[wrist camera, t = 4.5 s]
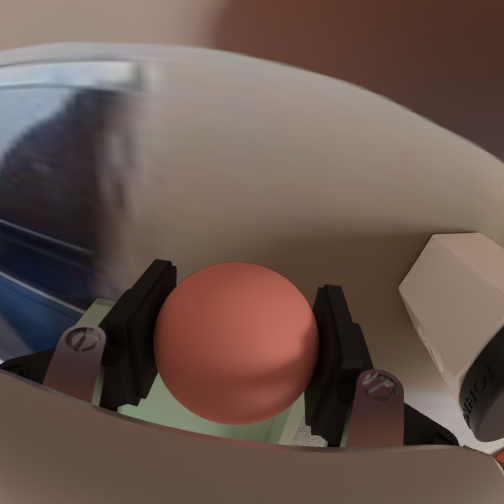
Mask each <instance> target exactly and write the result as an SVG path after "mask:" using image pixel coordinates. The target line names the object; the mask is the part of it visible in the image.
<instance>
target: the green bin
mask: <svg viewBox="0 0 504 504" xmlns="http://www.w3.org/2000/svg"><path fill="white" fill-rule="evenodd" d="M115 304H116V301H111V300H106V299H101V298H97V299H96V300H95V301H94V303H93V304H92V305H91V306H90V307H89V309H88V310H87V311H86V312H85V314H84V315H83V316H82V317H81V319H80V320H79V321H78V323H77V324H76V325H80V324H91V325H95V326H98V325H99V324H100V322H101V321H102V320H103V318H104V317H105V316H106V315H107V313H108V312H109V311H110V310H111V308H112V307H113V306H114V305H115ZM121 407H122V412H121V414H124V415H127V416H131V417H134V418H138V419H142V420H145V421H149V422H153V423H157V424H161V425H165V426H169V427H173V428H178V429H182V430H187V431H192V432H197V433H202V434H207V435H213V436H218V437H224V438H231V439H238V440H245V441H253V442H261V443H271V444H281V445H291V444H292V442H293V440H294V437H295V435H296V433H297V430H298V428H299V426H300V423H301V421H302V418H303V416H304V414H305V402H304V392H303V393H302V395H301V396H300V397H299V398H298V399H297V400H296V401H295V402H294V403H293V404H292V405H291V406H290V407H288V408H287V409H286V410H284V411H283V412H281V413H279V414H278V415H276V416H274V417H272V418H270V419H267V420H264V421H261V422H258V423H253V424H248V425H227V424H220V423H216V422H212V421H209V420H206V419H204V418H201V417H199V416H197V415H196V414H194V413H192V412H191V411H189V410H188V409H186V408H185V407H184V406H183V405H181V404H180V403H179V402H178V401H177V400H176V399H175V398H174V397H173V396H172V394H171V393H170V392H169V390H168V389H167V388H166V386H165V385H164V383H163V381H162V379H161V377H160V375H159V372H158V374H157V376H156V378H155V381H154V383H153V385H152V387H151V390H150V392H149V394H148V396H147V398H146V399H141V401H140V403H139V405H138V407H136V406H133V405H129V404H126V405H123V406H121Z"/></svg>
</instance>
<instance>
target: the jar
mask: <svg viewBox="0 0 504 504" xmlns="http://www.w3.org/2000/svg"><path fill="white" fill-rule="evenodd" d="M398 290H399V292H400V295H401V297H402V299H403V301H404V304H405V306H406V309H407V311H408V313H409V316H410V318H411V321H412V323H413V326H414V328H415V330H416V332H417V333H418V335H419V337H420V338H421V340H422V342H423V343H424V345H425V347H426V348H427V350H428V352H429V354H430V356H431V358H432V360H433V362H434V364H435V366H436V367H437V369H438V371H439V372H440V373H441V375H442V377H443V379H444V381H445V382H446V384H447V386H448V388H449V390H450V392H451V394H452V396H453V398H454V399H455V401H456V403H457V405H458V407H459V409H460V411H461V413H462V414H463V417H464V419H465V421H466V423H467V425H468V427H469V429H471V430H472V432H473V434H474V436H475V438H476V439H477V440H479V441H481V442H491V441H495V440H499V439H501V438H504V249H503V248H502V247H500V246H499V245H497V244H496V243H495V242H493V241H492V240H490V239H489V238H487V237H486V236H484V235H483V234H481V233H458V234H434V235H433V236H432V237H431V238H430V240H429V242H428V243H427V245H426V246H425V248H424V250H423V251H422V253H421V254H420V256H419V257H418V259H417V260H416V262H415V263H414V265H413V266H412V268H411V269H410V271H409V272H408V274H407V275H406V277H405V278H404V280H403V281H402V282H401V284H400V285H399V287H398Z"/></svg>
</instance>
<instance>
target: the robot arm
mask: <svg viewBox="0 0 504 504" xmlns="http://www.w3.org/2000/svg"><path fill="white" fill-rule="evenodd" d="M176 278H177V269H176V266H172V262H171V261H165V260H159V259H155V260H154V262H153V263H152V264H151V265H150V266H149V268H148V269H147V270H146V271H145V272H144V273H143V275H142V276H141V277H140V278H139V280H138V281H137V282H136V283H135V284H134V286H133V287H132V288H131V289H128V290H126V291H125V293H124V294H123V295H122V296H121V297H120V299H119V300H118V301H117V302H116V304H115V305H114V306H113V307H112V308H111V310H110V311H109V312H108V313H107V315H106V316H105V317H104V318H103V320H102V321H101V322H100V324H99V325H98V326H95V325H91V324H80V325H75V326H73V327H71V328H69V329H67V330H66V331H65V332H64V333H63V334H62V336H61V338H60V340H59V342H58V345H57V347H56V348H54V349H50V350H46V351H42V352H38V353H34V354H30V355H26V356H22V357H18V358H14V359H10V360H7V361H5V362H3V363H2V364H0V504H504V462H501V461H499V460H497V459H494V458H493V457H491V456H490V455H489V454H486V453H484V452H482V451H479V450H476V449H472V448H470V447H468V446H466V445H464V446H463V447H461V446H459V442H458V440H457V438H456V437H455V435H454V434H453V433H452V432H450V431H449V430H448V429H446V428H444V427H443V426H441V425H439V424H438V423H436V422H435V421H433V420H431V419H430V418H428V417H427V416H425V415H423V414H422V413H420V412H419V411H417V410H415V409H414V408H412V407H411V406H409V405H408V404H406V403H404V389H403V385H402V384H401V382H400V381H399V380H398V379H397V378H396V377H395V376H394V375H392V374H391V373H389V372H386V371H383V370H378V369H374V367H373V364H372V361H371V358H370V355H369V352H368V348H367V345H366V342H365V339H364V336H363V333H362V330H361V327H360V325H359V324H357V323H353V322H352V318H351V315H350V312H349V309H348V306H347V303H346V300H345V297H344V294H343V291H342V288H341V286H336V285H328V284H325V285H324V288H320V287H319V288H318V291H317V295H316V299H315V303H314V307H313V311H312V312H313V314H314V316H315V320H316V323H317V327H318V332H319V355H318V362H317V366H316V369H315V372H314V374H313V377H312V379H311V381H310V383H309V384H308V386H307V387H306V389H305V390H304V402H305V423H306V426H311V435H318V436H321V437H322V438H324V439H325V440H326V442H325V445H324V447H310V446H293V445H281V444H271V443H261V442H253V441H245V440H238V439H231V438H224V437H218V436H213V435H207V434H202V433H197V432H192V431H187V430H182V429H178V428H173V427H169V426H165V425H161V424H157V423H153V422H149V421H145V420H142V419H138V418H134V417H131V416H127V415H124V414H121V412H122V407H121V406H123V405H126V404H129V405H133V406H136V407H138V405H139V403H140V401H141V399H146V398H147V396H148V394H149V392H150V390H151V387H152V385H153V383H154V381H155V378H156V376H157V374H158V370H157V367H156V363H155V358H154V352H153V333H154V328H155V323H156V319H157V317H158V314H159V311H160V309H161V307H162V305H163V303H164V302H165V300H166V298H167V297H168V296H169V294H170V293H171V292H172V291H173V290H174V288H175V287H176Z"/></svg>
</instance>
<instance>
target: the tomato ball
mask: <svg viewBox="0 0 504 504" xmlns="http://www.w3.org/2000/svg"><path fill="white" fill-rule="evenodd" d="M153 352H154V358H155V363H156V367H157V370H158V372H159V375H160V377H161V379H162V381H163V383H164V385H165V386H166V388H167V389H168V390H169V392H170V393H171V394H172V396H173V397H174V398H175V399H176V400H177V401H178V402H179V403H180V404H181V405H183V406H184V407H185V408H186V409H188V410H189V411H191V412H192V413H194V414H196V415H197V416H199V417H201V418H204V419H206V420H209V421H212V422H216V423H220V424H227V425H248V424H253V423H258V422H261V421H264V420H267V419H270V418H272V417H274V416H276V415H278V414H279V413H281V412H283V411H284V410H286V409H287V408H288V407H290V406H291V405H292V404H293V403H294V402H295V401H296V400H297V399H298V398H299V397H300V396H301V395H302V393H303V392H304V390H305V389H306V387H307V386H308V384H309V383H310V381H311V379H312V377H313V374H314V372H315V369H316V366H317V362H318V355H319V332H318V327H317V323H316V320H315V316H314V314H313V312H312V310H311V307H310V306H309V304H308V302H307V300H306V299H305V298H304V296H303V295H302V293H301V292H300V291H299V290H298V289H297V288H296V287H295V286H294V285H293V284H292V283H291V282H290V281H288V280H287V279H286V278H285V277H283V276H281V275H280V274H278V273H277V272H275V271H272V270H270V269H268V268H265V267H262V266H260V265H256V264H251V263H243V262H226V263H220V264H215V265H212V266H208V267H206V268H203V269H201V270H199V271H197V272H195V273H193V274H192V275H190V276H188V277H187V278H186V279H184V280H183V281H182V282H181V283H180V284H178V285H177V286H176V287H175V288H174V290H173V291H172V292H171V293H170V294H169V296H168V297H167V298H166V300H165V302H164V303H163V305H162V307H161V309H160V311H159V314H158V317H157V319H156V323H155V328H154V333H153Z"/></svg>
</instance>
